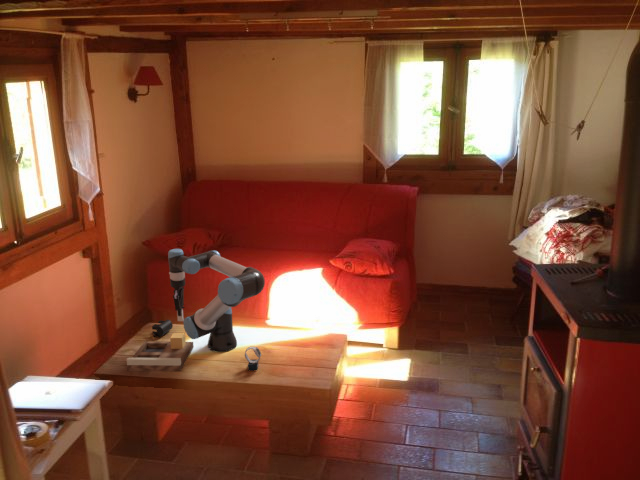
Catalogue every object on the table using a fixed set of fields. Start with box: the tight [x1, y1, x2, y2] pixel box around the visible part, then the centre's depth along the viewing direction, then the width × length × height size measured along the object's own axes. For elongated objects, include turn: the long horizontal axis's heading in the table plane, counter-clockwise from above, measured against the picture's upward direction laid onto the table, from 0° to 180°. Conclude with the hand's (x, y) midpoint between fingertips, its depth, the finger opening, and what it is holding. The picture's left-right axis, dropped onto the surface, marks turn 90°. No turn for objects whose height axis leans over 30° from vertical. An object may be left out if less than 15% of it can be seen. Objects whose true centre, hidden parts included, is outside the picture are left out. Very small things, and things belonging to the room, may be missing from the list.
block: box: [169, 332, 187, 349], centre depth 305 cm, size 6×6×6 cm
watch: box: [244, 346, 262, 372], centre depth 287 cm, size 6×8×11 cm
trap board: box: [126, 340, 194, 372], centre depth 298 cm, size 26×26×6 cm
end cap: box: [151, 319, 173, 338], centre depth 327 cm, size 10×7×7 cm
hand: (180, 320), depth 311 cm, fingers closed
